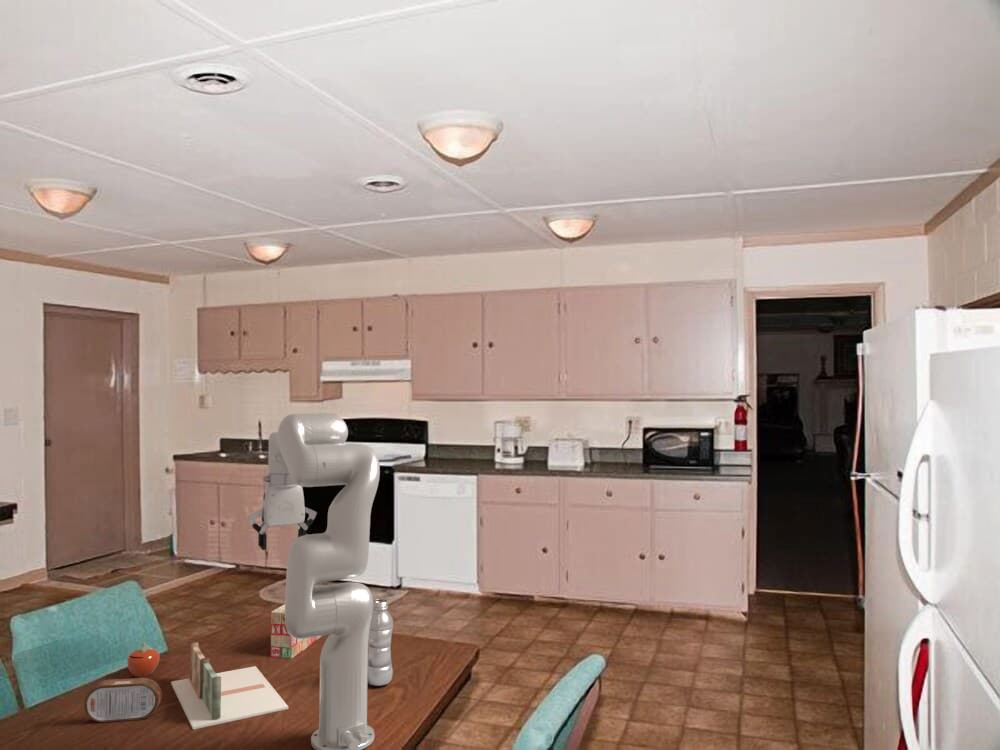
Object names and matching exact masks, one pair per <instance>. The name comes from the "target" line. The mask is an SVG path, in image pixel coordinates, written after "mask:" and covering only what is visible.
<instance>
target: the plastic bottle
mask: <svg viewBox="0 0 1000 750" xmlns="http://www.w3.org/2000/svg"><path fill="white" fill-rule="evenodd" d="M388 601H389V600H388V599H384V598H378V599H373V612H372V618H371V623H370V629H369V638H368V668H367V684H368V685H370V686H374V687H381V686H385V685H388V684H389V683H391V681H392V679H393V674H394V671H393V664H392V653H391V648H392V647H391V646H392V636H393V630H394V620H393V617H392V615H391V613H390V612H389V611H388V609H389V605H388V604H389V603H388Z"/></svg>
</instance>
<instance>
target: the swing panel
mask: <svg viewBox="0 0 1000 750" xmlns="http://www.w3.org/2000/svg"><path fill="white" fill-rule="evenodd" d="M203 701H204V702H205V704H206V706H207V708H208V710H209V711H210V713H211V715H212V719H218V718H220V717H221V677H220V676H217V674H216V671H215V670H214V668H213V667H212V665H211V663H210V664H209V663H204V664H203Z"/></svg>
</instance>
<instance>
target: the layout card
mask: <svg viewBox="0 0 1000 750" xmlns="http://www.w3.org/2000/svg"><path fill="white" fill-rule="evenodd" d="M215 673H216V672H215ZM216 674H217V676H220V677H221V717H220V718H218V719H212V715H211V713H210V711H209V710H208V708H207V706H206V704H205V702H204V701H203V699H200V694H199V692H198V690H197V688H196V687H195V685H194V683H193V681H192V680H190V677H188V678H184V679H178V680H173V681H171V682H170V684H171V686H172V689H173V691H174V693H175V695H176V698H177V699H178V701H179V704H180V705H181V707H182V709H183V712H184V714H185V716H186V717H187V720H188V722H189V725H190V727H191V729H192V730H198V729H202V728H206V727H207V728H208V727H211V726H215V725H221V724H225V723H230V722H234V721H238V720H239V721H240V720H244V719H247V718H253V717H256V716H257V717H258V716H261V715H267V714H271V713H277V712H280V711H285V710H289V706H288V704H287V703H286V702H285V701H284V699H283V698H282V697H281V695H280V694H279V693H278V692H277V691H276V690H275V688H274V687H273V686H272V684H271V683H270V682H269V681H268V679H266V677H265V676H264V675H263V673H262V672H261V671H260V670H259V669H258V667H257V666H255V665H254V666H250V667H244V668H239V669H238V668H237V669H232V670H228V671H222V672H217V673H216Z"/></svg>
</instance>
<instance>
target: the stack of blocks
mask: <svg viewBox="0 0 1000 750" xmlns="http://www.w3.org/2000/svg"><path fill="white" fill-rule="evenodd" d="M270 622H271V623H270V657H271V658H279V659H280V658H281V659H293V658H295V656H297V655H299V654H301V653H302V652H303V651H304V650H306V649H307V648H308V647H310V646H311V645H312V644H313V643H315V642H316V641H317V640H319V639H320V638H322V637H323V636H317V637H311V638H303V639H297V638H294V637H292V636H291V635H289V633H288V631H287V629H286V625H285V603H284V604H283V605H281V606H279V607H277V608H275V609H274V610H272V611H271V612H270ZM301 651H302V652H301Z"/></svg>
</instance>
